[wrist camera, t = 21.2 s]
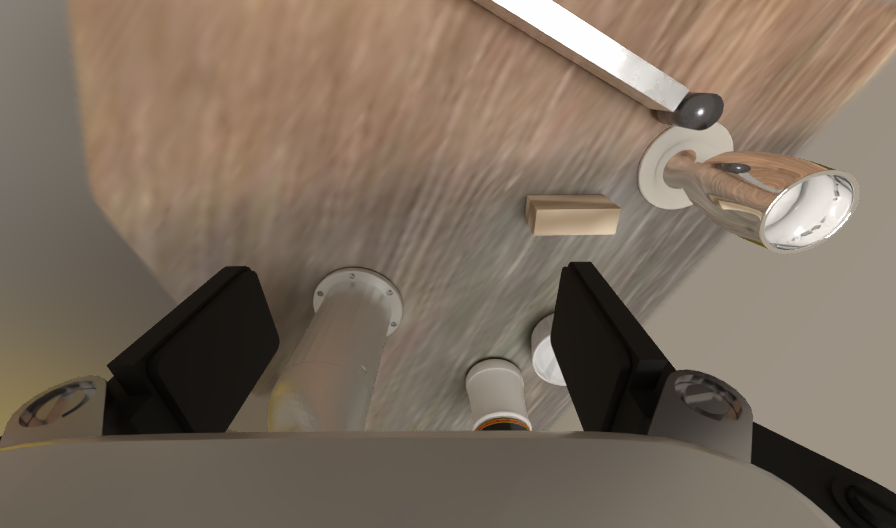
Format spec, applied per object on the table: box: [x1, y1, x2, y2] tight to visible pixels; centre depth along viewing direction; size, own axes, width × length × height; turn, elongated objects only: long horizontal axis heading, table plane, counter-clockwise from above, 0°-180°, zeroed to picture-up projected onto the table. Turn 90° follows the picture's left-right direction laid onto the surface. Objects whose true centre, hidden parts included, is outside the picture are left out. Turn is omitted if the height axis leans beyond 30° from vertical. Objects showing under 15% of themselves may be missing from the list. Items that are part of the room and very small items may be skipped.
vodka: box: [466, 359, 532, 431], centre depth 42 cm, size 9×9×30 cm
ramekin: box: [531, 313, 566, 386], centre depth 48 cm, size 11×11×5 cm
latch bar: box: [473, 0, 724, 131], centre depth 29 cm, size 3×28×5 cm, turn 65°
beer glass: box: [655, 140, 860, 254], centre depth 31 cm, size 7×7×15 cm
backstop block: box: [525, 194, 621, 235], centre depth 38 cm, size 3×9×5 cm, turn 91°
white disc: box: [637, 122, 733, 209], centre depth 38 cm, size 10×10×1 cm
